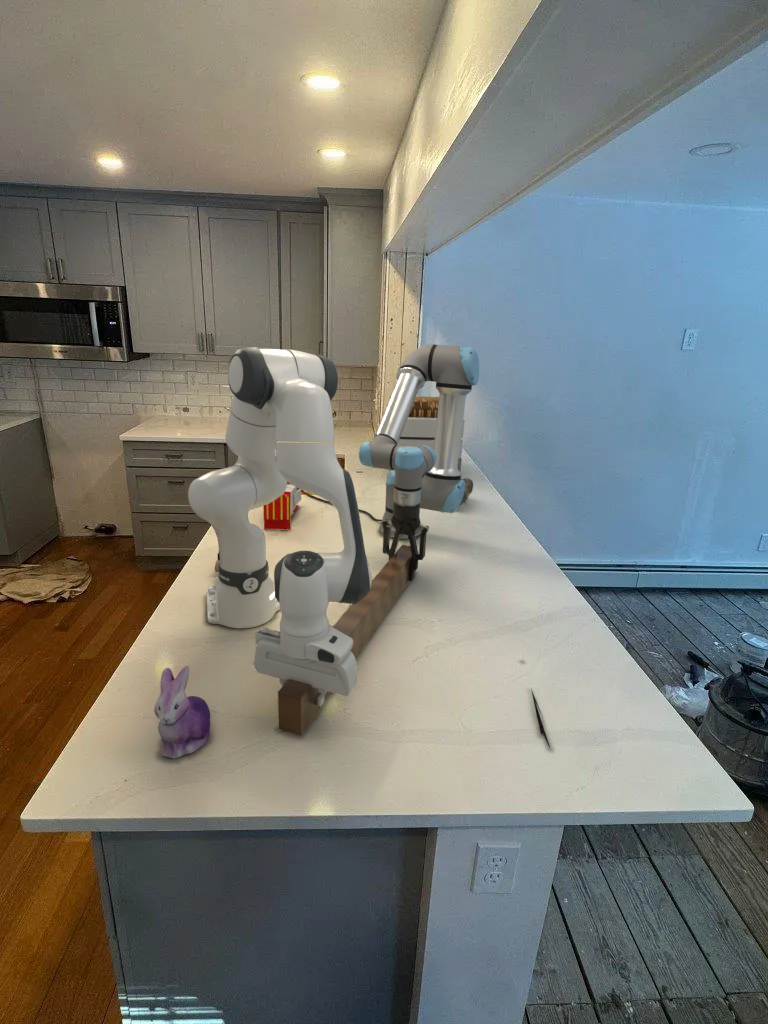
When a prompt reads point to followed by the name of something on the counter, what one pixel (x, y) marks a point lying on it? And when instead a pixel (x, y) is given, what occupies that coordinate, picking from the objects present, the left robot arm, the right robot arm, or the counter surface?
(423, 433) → the transformer
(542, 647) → the counter surface
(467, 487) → the fossil
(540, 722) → the feather
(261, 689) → the counter surface
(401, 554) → the bar
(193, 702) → the figurine
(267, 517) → the toy
